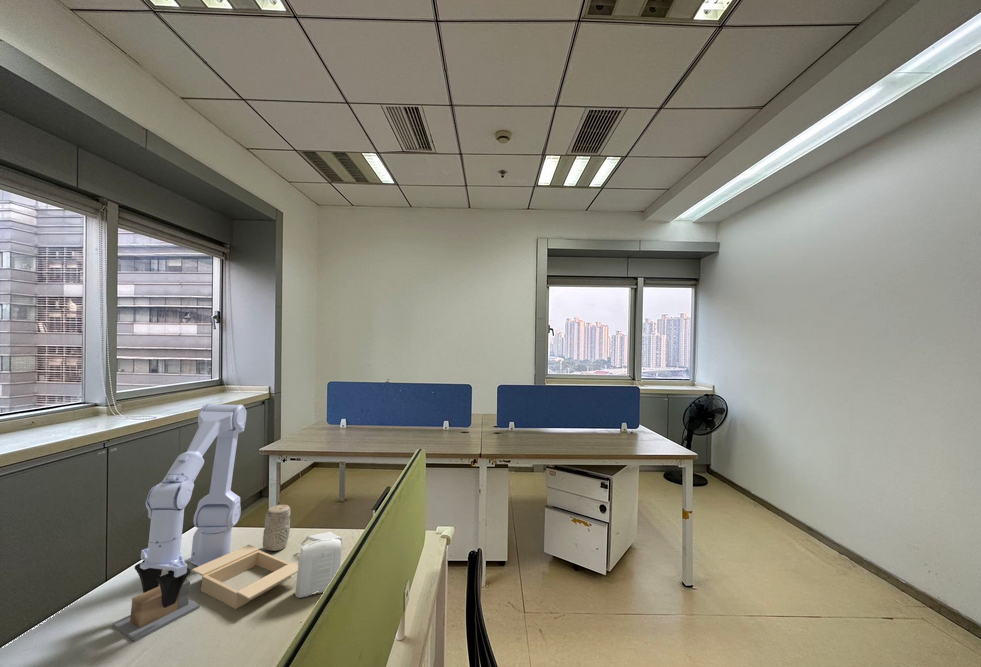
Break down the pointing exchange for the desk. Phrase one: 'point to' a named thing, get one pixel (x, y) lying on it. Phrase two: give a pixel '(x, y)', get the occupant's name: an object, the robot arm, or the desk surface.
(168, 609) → the walnut box
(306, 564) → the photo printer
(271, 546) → the carving
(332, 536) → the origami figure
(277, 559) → the carton
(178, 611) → the mat
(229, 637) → the desk surface
